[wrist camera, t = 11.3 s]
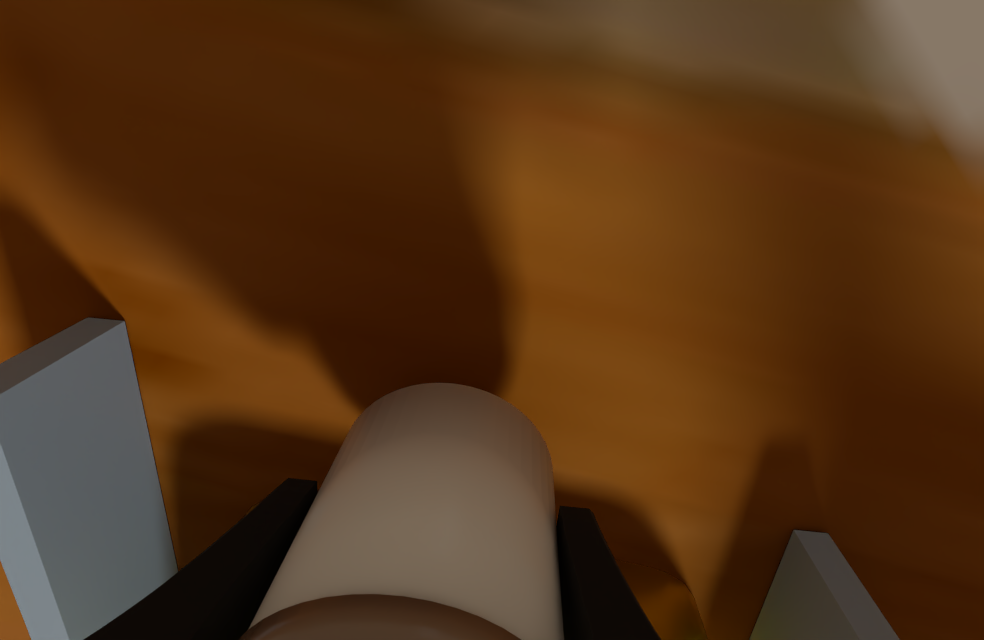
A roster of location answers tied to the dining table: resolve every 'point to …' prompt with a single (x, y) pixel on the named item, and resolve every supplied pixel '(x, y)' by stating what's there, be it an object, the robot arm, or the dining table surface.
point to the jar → (426, 529)
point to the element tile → (661, 601)
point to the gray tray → (142, 518)
